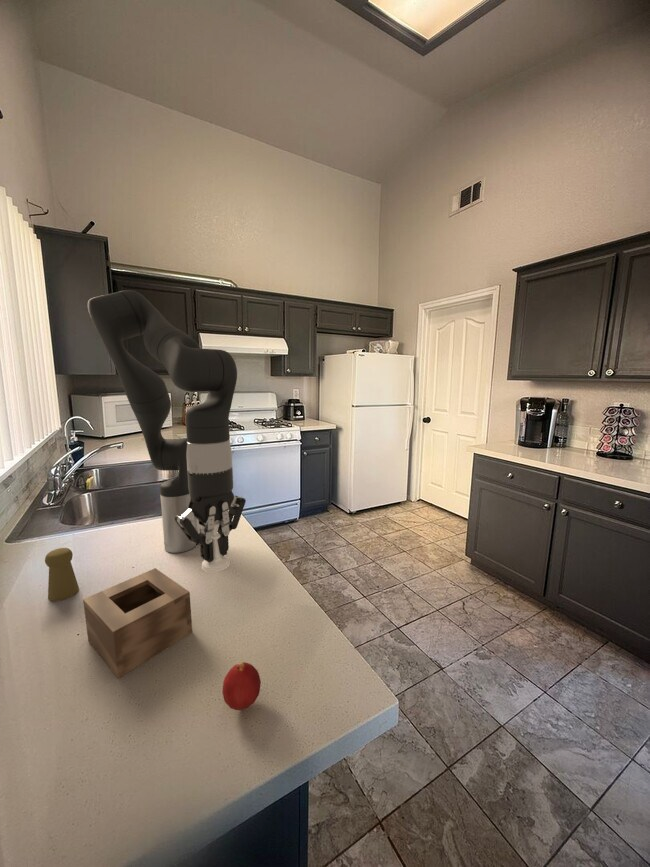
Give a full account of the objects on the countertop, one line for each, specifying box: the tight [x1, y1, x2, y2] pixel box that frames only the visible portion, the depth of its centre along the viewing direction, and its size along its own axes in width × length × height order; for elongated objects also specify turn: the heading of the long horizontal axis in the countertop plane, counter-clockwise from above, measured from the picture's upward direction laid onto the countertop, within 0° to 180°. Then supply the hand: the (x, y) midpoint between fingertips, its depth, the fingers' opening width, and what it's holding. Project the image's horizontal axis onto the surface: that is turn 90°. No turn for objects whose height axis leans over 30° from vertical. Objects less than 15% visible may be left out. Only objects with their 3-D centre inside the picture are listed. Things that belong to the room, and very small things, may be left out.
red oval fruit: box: [222, 661, 262, 711], centre depth 54 cm, size 6×6×8 cm
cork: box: [44, 547, 80, 602], centre depth 83 cm, size 6×6×11 cm
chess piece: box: [201, 521, 231, 573], centre depth 63 cm, size 5×5×10 cm
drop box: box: [82, 568, 193, 679], centre depth 69 cm, size 14×14×9 cm
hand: (215, 556), depth 64 cm, fingers closed on chess piece, 2 cm apart
